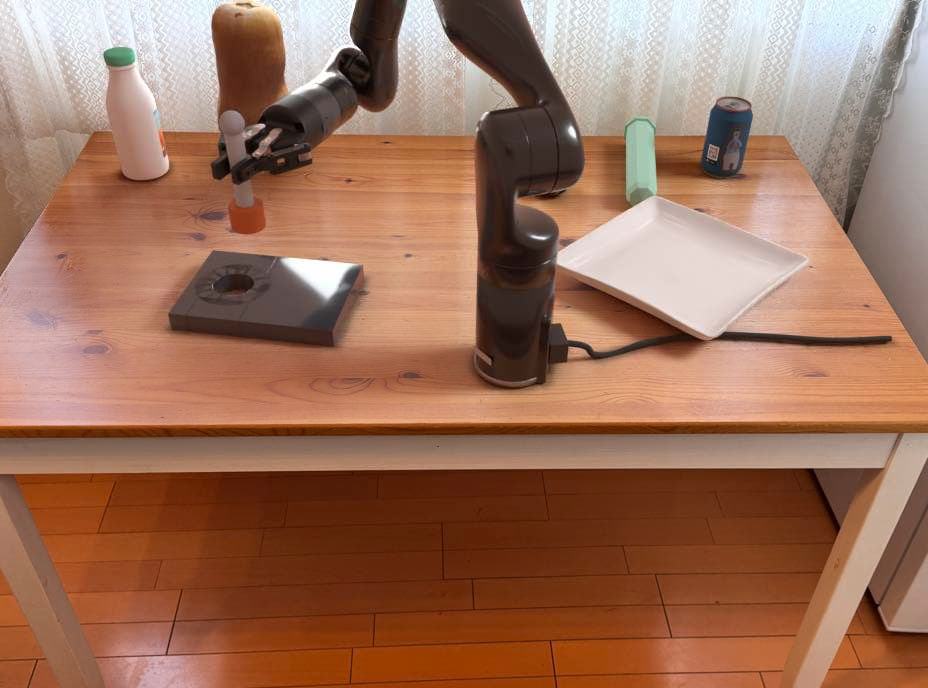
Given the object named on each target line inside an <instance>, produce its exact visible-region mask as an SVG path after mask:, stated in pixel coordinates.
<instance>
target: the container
mask: <svg viewBox="0 0 928 688" xmlns="http://www.w3.org/2000/svg"><path fill="white" fill-rule="evenodd" d="M623 128H624V130H623V136H622V137H623V138H622V139H624V141H625V200H626V201H627V202H628V203H629V204H630V206H631V207H634V206H635V205H637V204H639V203H640V202H642V201H644V200H646V199H647V198H649V197H651V196H658V195H657V193H658V183H657V182H658V181H657V165H656V149H655V148H656V147H655V140H656V139H655V138H656V131H657V126H656V124H655V123H654V122H653V121H652V119H651V118H650V117H649V116H639V115H635V116H633V117H632V118H631V119H630V120H628V121H627V122H626V123H624V127H623Z"/></svg>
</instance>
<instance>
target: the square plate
mask: <svg viewBox="0 0 928 688" xmlns="http://www.w3.org/2000/svg"><path fill="white" fill-rule="evenodd" d="M811 262H812V260H811V259H810V258H809V257H808V256H806V255H804V254H802V253H799V252H797V251H794V250H792V249H790V248H787V247H784V246H783V245H781V244H778V243H776V242H773V241H772V240H769V239H766V238H764V237H761V236H759V235H757V234H754V233H752V232H750V231H748V230H745V229H743V228H740V227H738V226H735V225H733V224H731V223H728V222H725V221H723V220H721V219H719V218H716V217H714V216H712V215H709V214H707V213H703V212H701V211H698V210H696V209H693V208H691V207H688V206H685V205H682V204H680V203H677V202H675V201H671V200H669V199H666V198H664V197H661V196H658V195H656V196H651V197H649V198H647V199H646V200H644V201H642V202H640V203H639V204H637V205H635V206H634V207H633V206H631V207H630V208H628V209H627V210H625V211H623V212H622V213H620V214H618V215H617V216H614V217H613V218H611V219H610V220H608V221H606V222H605V223H603V224H601V225H600V226H598V227H596V228H595V229H593V230H592V231H589V232H587V233H586V234H585V235H583V236H581V237H580V238H578V239H577V240H575V241H572V243H570V244H568V245H567V246H565V247H564V248H562V249H560V250H558V257H557V268H556V269H558V270H560V272H562V273H564V274H566V275H568V276H570V277H571V278H573V279H575V280H578V281H579V282H582V283H584V284H586V285H588V286H590V287H593V288H595V289H597V290H599V291H602V292H604V293H606V294H608V295H611V296H613V297H614V298H617V299H618V300H621V301H623V302H625V303H627V304H629V305H632V306H633V307H635V308H638V309H640V310H642V311H643V312H646V313H647V314H650V315H651V316H654V317H655V318H658V319H660V320H661V321H663V322H665V323H667V324H669V325H671V326H672V327H674V328H676V329H678V330H679V331H680V330H681V331H682V332H684V333H685V334H686V333H688V334H690V335H693V336H695V337H697V338H700V340H702V341H711V340H713V339H717V338H716V337H718V336H719V335H721V334H722V333H723V332H727V330H728V329H730V328H731V327H732V326H733V325H734V324H735V323H737V321H738V320H739V319H740V318H742V317H743V316H744V315H745V314H746V313H747V312H748V311H749V310H751V309H752V308H754V306H755V305H757V304H758V303H759V302H760V301H761V300H762V299H764V298H765V297H766V296H768V295H770V293H772V292H773V291H774V290H776V289H778V288H779V287H780V286H782V285H784V284H785V283H786V282H788V281H789V280H790V279H791V278H793V277H794V276H795V275H797V274H798V273H799V272H801V271H802V270H803V269H805V268H806V267H808V266H809V265H810V264H811Z"/></svg>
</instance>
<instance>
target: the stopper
mask: <svg viewBox="0 0 928 688" xmlns="http://www.w3.org/2000/svg"><path fill="white" fill-rule="evenodd" d="M219 127H220V129H221V131H222V132H223V133H224V136H225V142H226V148H227V154H228V159H229V165H230V171H231V168H232V167H233V166H234V165H236V164H237V163H239V162H240V161H241V160H243V159H245V158H246V157H247V156H246V149H245V143H244V137H243V130H244V128H245V122H244V119H243V117H242V116H241V115H240V114H239V113H238V112H236V111H231V110H230V111H226V112H224V113H223V114H222V115H221V116H220V119H219ZM219 127H218V128H219ZM232 187H233V193H234V198H231V200H229V202H227V211H228V217H229V221H230V227H231V230H232V231H233V232H234V233H236V234H239V235H244V236H245V235H254V234H258V233H260V232H262V231H263V230H264V229H265V228H266V227H267V220H266V214H265V206H264V202H263V200H262V198H260V197H258V196H254V194H253V193H254V192H253V187H252V181H251V178H250V179H249V180H248V181H245V182H243V183H242V184H240V185H236V184H233V183H232Z"/></svg>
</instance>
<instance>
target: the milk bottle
mask: <svg viewBox="0 0 928 688" xmlns="http://www.w3.org/2000/svg"><path fill="white" fill-rule="evenodd" d="M102 55H103V60H104V64H105V68H107V70H108V84H107V88H106V94H105V107H106V112H107V118H108V122H109V126H110V131H111V134H112V138H113V143H114V146H115V151H116V154H117V158H118V162H119V166H120V170H121V172H122V174H123V175H124V177H126V178H128V179H129V180H133V181H134V180H135V181H149V180H154V179H157V178H160V177H163V176H164V175H165V174H167V172H168V171H169V170H170V162H169V157H168V156H169V155H168V152H167V148H166V147H167V146H166V143H165V138H164V134H163V129H162V125H161V121H160V115H159V111H158V107H157V103H156V101H155V98H154V95H153V93H152V91H151V90H150V88H149V87H148V86H147V84H146V82H144V79H143V78H142V76H141V75H140V73H139V71H138V69H137V65H138V63H137V58H136V53H135V51H134V49H133V48H131V47H127V46H115V47H111V48H108V49H106V50H105V51H104V52H103V54H102Z"/></svg>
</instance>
